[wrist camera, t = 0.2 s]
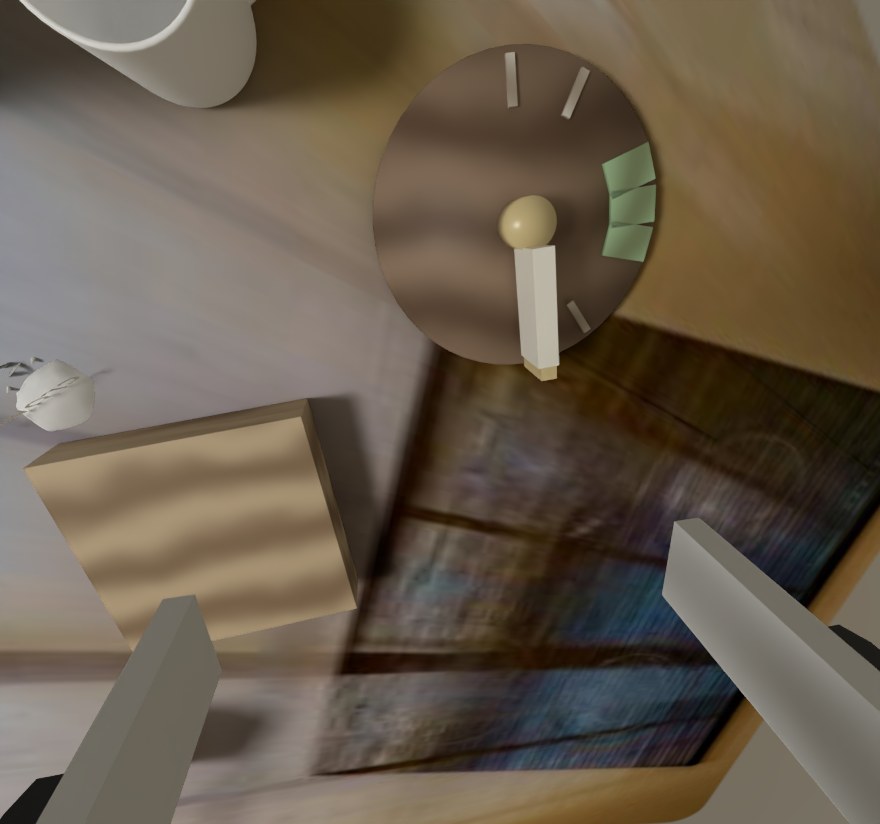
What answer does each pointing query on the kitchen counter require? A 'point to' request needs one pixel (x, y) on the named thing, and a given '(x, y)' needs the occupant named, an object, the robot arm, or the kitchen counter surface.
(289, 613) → the block
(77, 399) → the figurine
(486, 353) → the dial
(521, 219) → the white bar with ball
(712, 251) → the kitchen counter surface
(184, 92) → the mug
